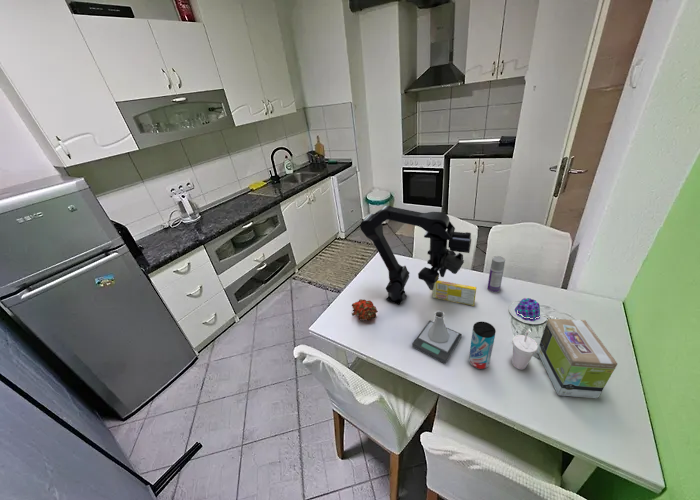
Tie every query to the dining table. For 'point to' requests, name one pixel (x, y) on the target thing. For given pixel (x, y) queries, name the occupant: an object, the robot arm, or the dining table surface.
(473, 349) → the beverage can
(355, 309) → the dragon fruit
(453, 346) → the scale
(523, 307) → the pudding
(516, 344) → the smoothie
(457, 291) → the candy box
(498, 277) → the container
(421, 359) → the dining table surface
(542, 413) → the dining table surface
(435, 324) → the flask
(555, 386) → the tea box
